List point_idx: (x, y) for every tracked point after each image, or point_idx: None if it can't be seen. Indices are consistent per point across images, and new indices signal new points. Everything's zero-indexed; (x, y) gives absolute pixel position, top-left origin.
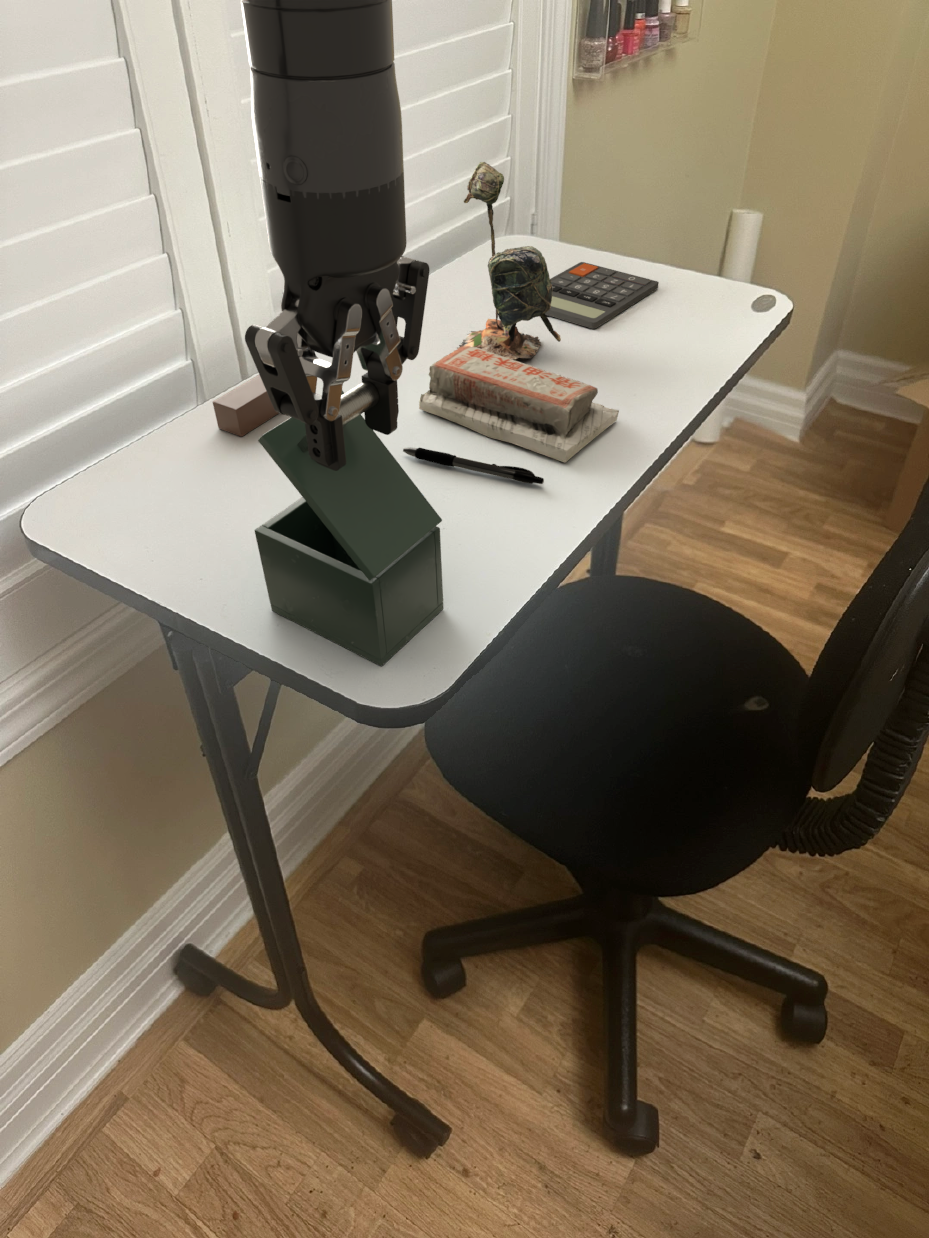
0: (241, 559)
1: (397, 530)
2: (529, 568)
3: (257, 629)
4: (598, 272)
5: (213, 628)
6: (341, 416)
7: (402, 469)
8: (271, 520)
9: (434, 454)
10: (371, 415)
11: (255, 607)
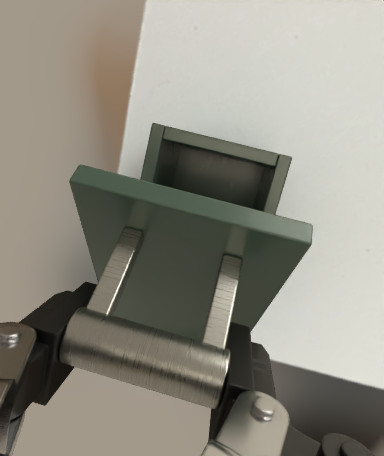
0: (242, 51)
1: (173, 326)
2: (323, 353)
3: (147, 136)
4: None
5: (133, 91)
6: (44, 404)
7: (252, 326)
8: (179, 133)
9: None
10: (225, 347)
11: (175, 115)
